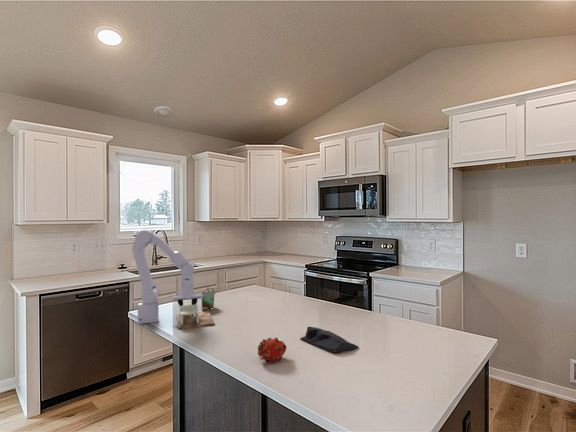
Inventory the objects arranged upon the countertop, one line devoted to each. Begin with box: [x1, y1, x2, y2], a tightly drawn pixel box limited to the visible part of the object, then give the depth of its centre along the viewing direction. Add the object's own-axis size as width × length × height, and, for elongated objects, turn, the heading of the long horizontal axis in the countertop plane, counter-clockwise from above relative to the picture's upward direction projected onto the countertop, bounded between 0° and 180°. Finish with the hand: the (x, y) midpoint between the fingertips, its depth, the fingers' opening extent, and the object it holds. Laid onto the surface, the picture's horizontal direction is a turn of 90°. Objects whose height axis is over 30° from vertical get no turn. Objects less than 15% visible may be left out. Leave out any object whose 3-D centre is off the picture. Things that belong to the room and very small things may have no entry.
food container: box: [200, 287, 216, 311], centre depth 182 cm, size 12×6×10 cm, turn 179°
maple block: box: [183, 315, 193, 319], centre depth 163 cm, size 4×4×5 cm
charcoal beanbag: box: [299, 326, 360, 353], centre depth 131 cm, size 15×22×5 cm
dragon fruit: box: [257, 337, 287, 363], centre depth 116 cm, size 8×8×12 cm
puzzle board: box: [176, 311, 216, 330], centre depth 159 cm, size 16×20×1 cm
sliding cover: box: [179, 303, 200, 325], centre depth 154 cm, size 8×7×7 cm
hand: (187, 314), depth 163 cm, fingers closed on maple block, 4 cm apart
